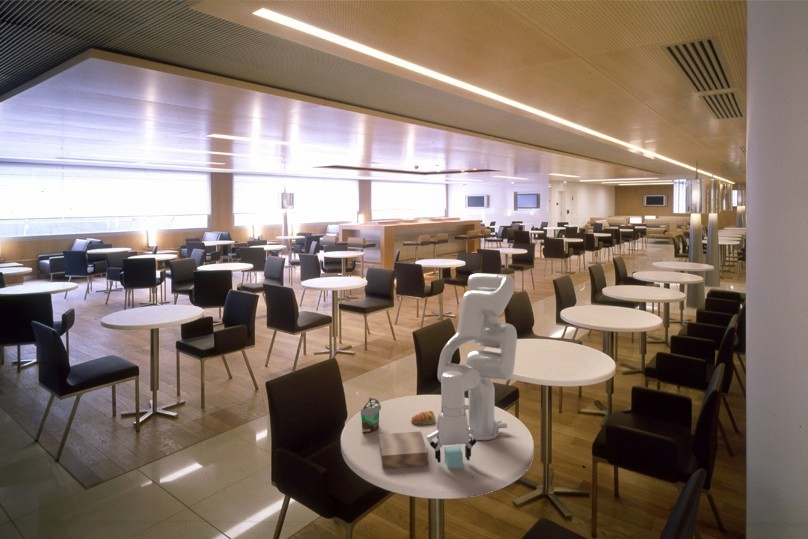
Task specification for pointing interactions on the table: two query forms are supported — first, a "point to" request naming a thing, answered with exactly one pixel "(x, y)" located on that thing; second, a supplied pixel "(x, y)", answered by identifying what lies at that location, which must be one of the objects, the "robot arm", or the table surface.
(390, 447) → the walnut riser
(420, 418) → the pastry
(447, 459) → the teal cube
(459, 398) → the robot arm
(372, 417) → the food container
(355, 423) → the table surface
